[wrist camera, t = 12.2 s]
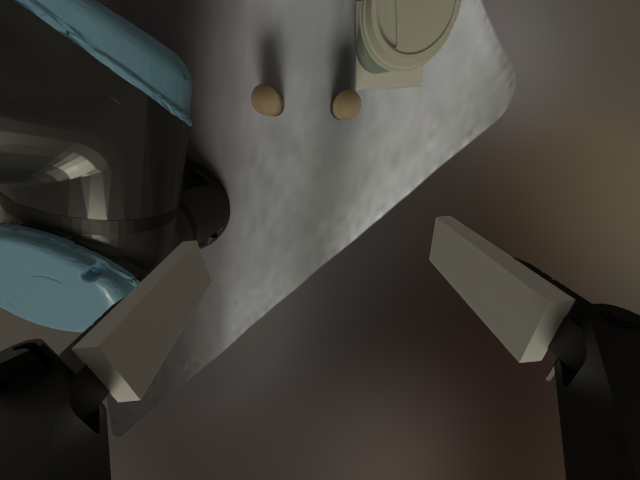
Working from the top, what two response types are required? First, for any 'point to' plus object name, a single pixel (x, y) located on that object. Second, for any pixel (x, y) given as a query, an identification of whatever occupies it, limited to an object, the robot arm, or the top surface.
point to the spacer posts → (273, 103)
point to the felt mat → (382, 80)
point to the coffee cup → (402, 32)
